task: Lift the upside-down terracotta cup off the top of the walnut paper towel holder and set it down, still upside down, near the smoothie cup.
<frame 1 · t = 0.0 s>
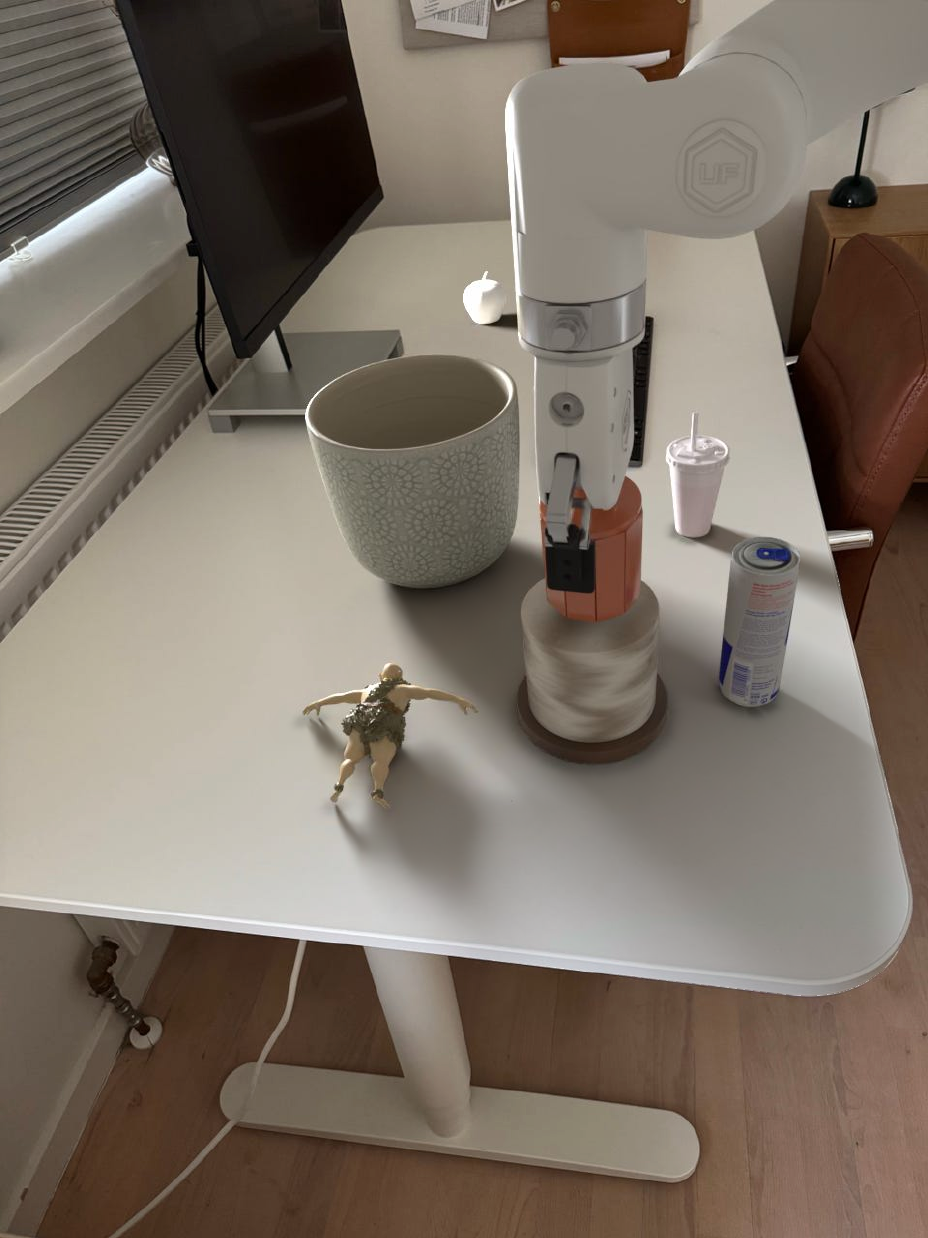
hand: (584, 547, 64), 20 cm above the table, tool pointing down, fingers open, 9 cm apart
cup: (592, 587, 70), point 14 cm above the table, tilted 8°, touching gripper
towel holder: (591, 708, 79), on the table
planter: (435, 557, 99), on the table
smoothie: (692, 529, 98), on the table
beverage can: (747, 693, 78), on the table
plain white apple: (487, 321, 150), on the table
figurine: (381, 749, 78), on the table
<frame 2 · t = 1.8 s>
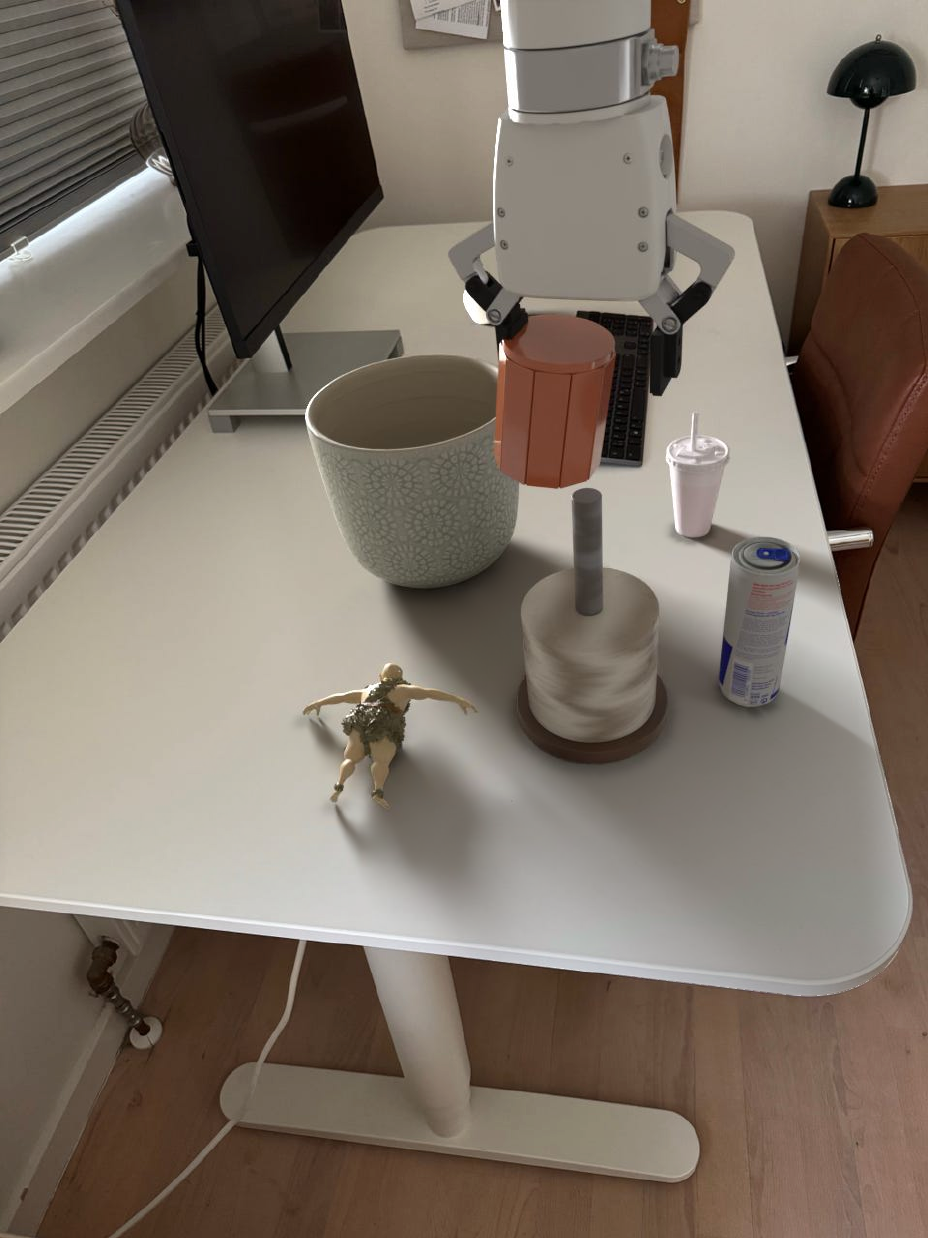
hand: (587, 380, 58), 31 cm above the table, tool pointing down, fingers open, 9 cm apart
cup: (546, 458, 63), point 25 cm above the table, tilted 8°, touching gripper
everything else where it was.
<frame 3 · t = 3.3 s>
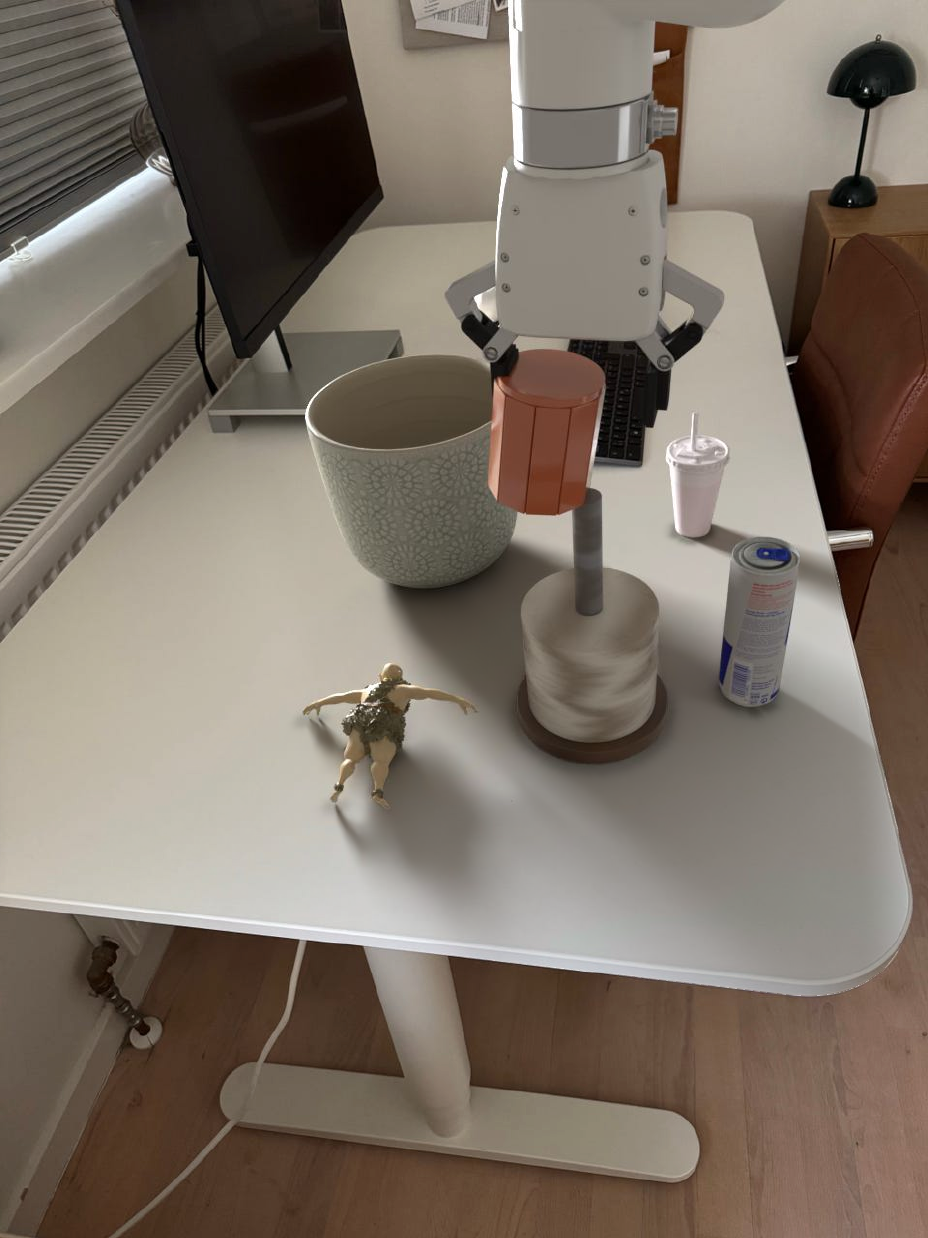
hand: (579, 413, 60), 29 cm above the table, tool pointing down, fingers open, 9 cm apart
cup: (538, 486, 65), point 23 cm above the table, tilted 9°, touching gripper, towel holder
everything else where it was.
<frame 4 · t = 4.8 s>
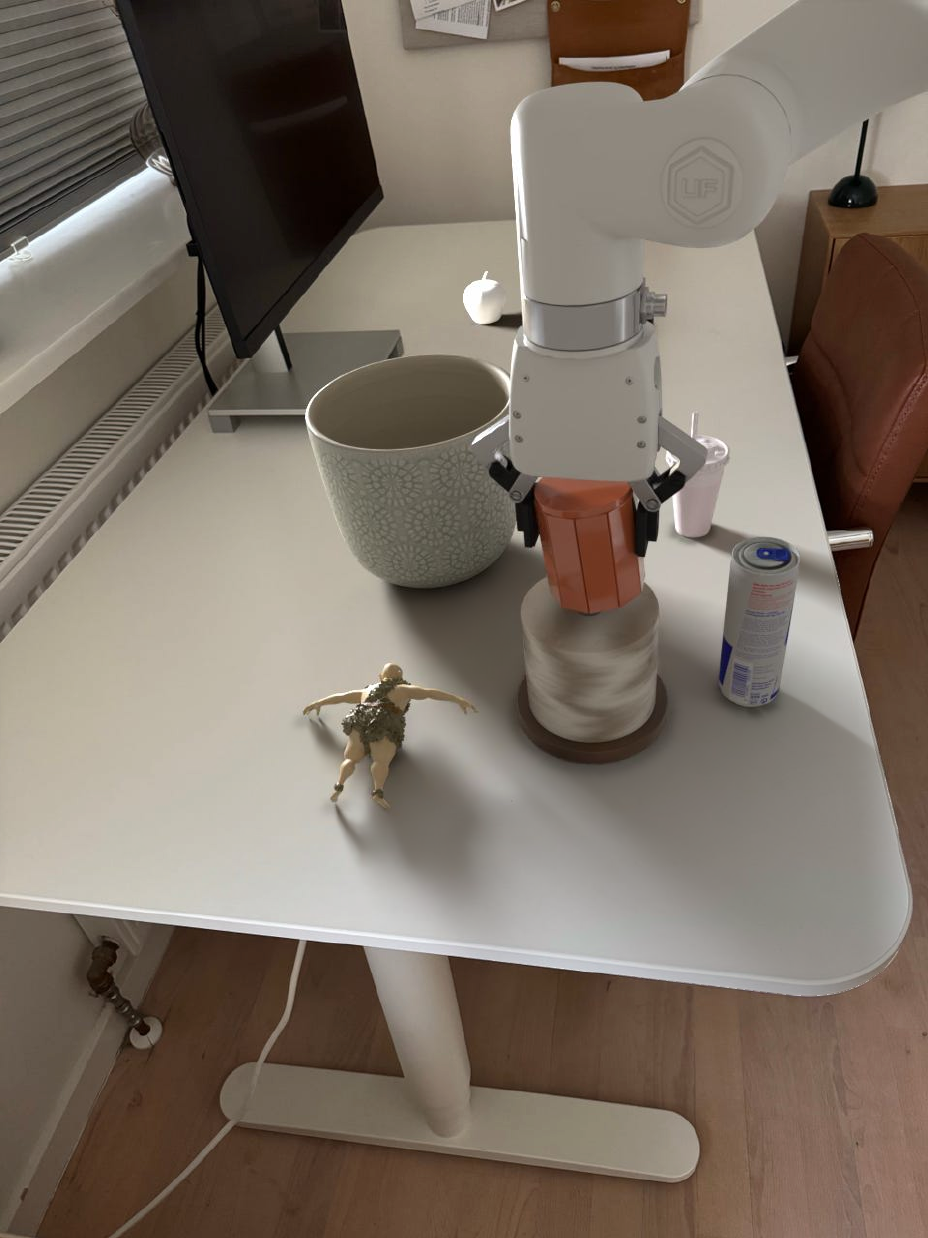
hand: (587, 540, 67), 18 cm above the table, tool pointing down, fingers closed on cup, 7 cm apart
cup: (597, 584, 70), point 14 cm above the table, tilted 6°, touching gripper, towel holder
everything else where it was.
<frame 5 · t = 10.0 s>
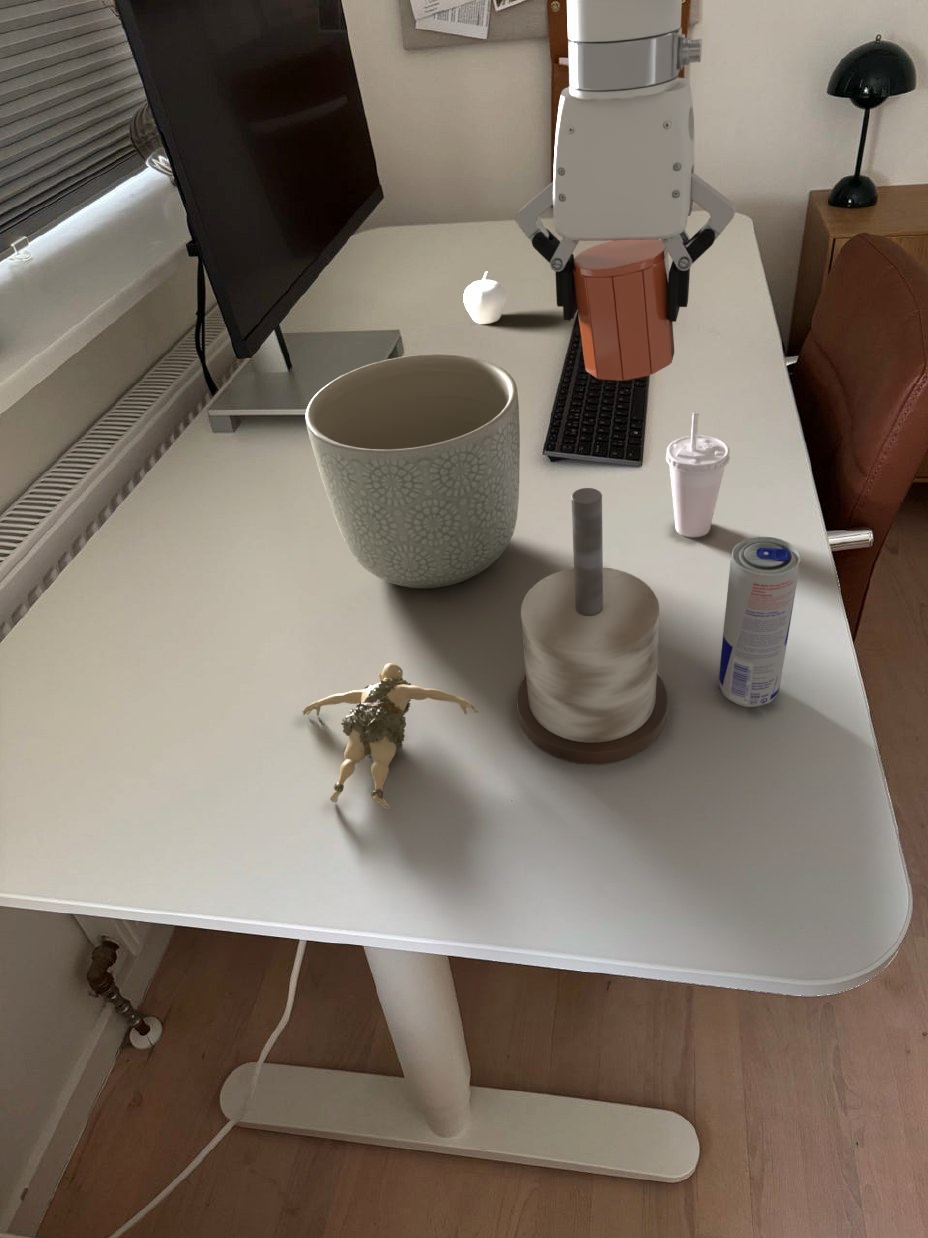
hand: (621, 313, 73), 29 cm above the table, tool pointing down, fingers closed on cup, 7 cm apart
cup: (629, 361, 75), point 24 cm above the table, tilted 6°, touching gripper
everything else where it was.
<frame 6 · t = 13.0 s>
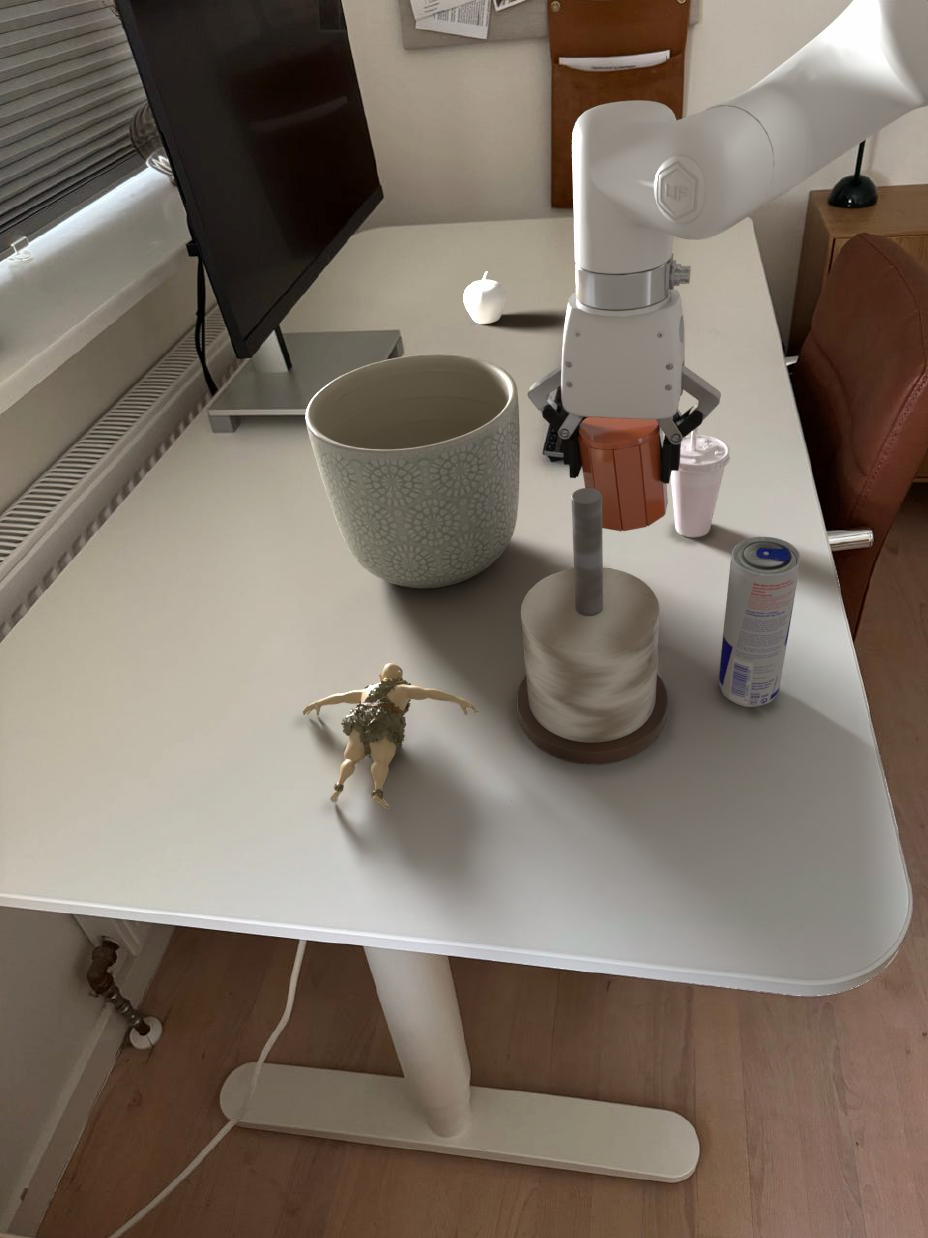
hand: (621, 472, 82), 14 cm above the table, tool pointing down, fingers closed on cup, 7 cm apart
cup: (628, 509, 85), point 10 cm above the table, tilted 6°, touching gripper
everything else where it was.
when the fingers open (5 cm above the table, at t = 15.6 s): cup stays where it is, on the table.
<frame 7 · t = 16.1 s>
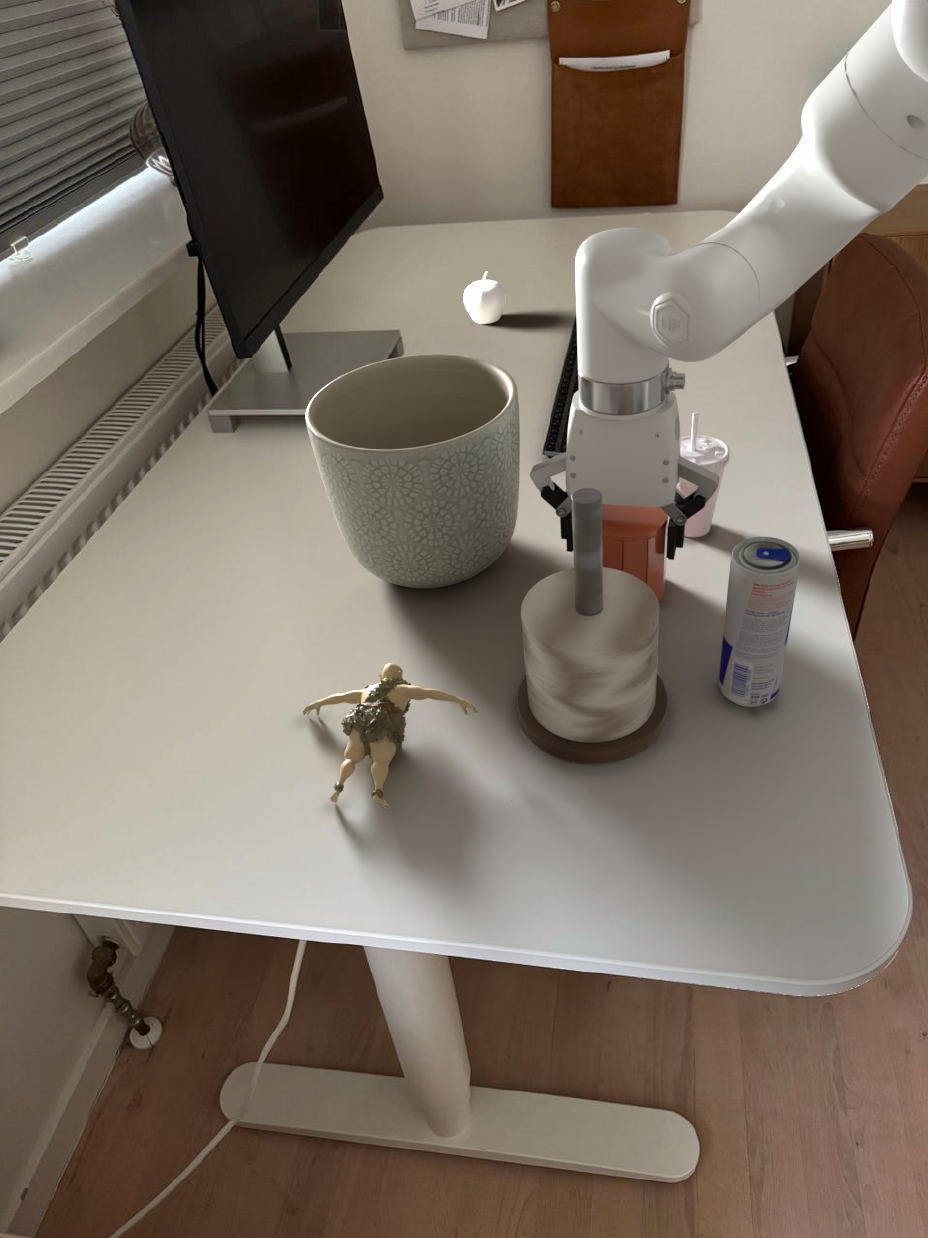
hand: (621, 547, 87), 5 cm above the table, tool pointing down, fingers open, 9 cm apart
cup: (627, 588, 91), on the table
everything else where it was.
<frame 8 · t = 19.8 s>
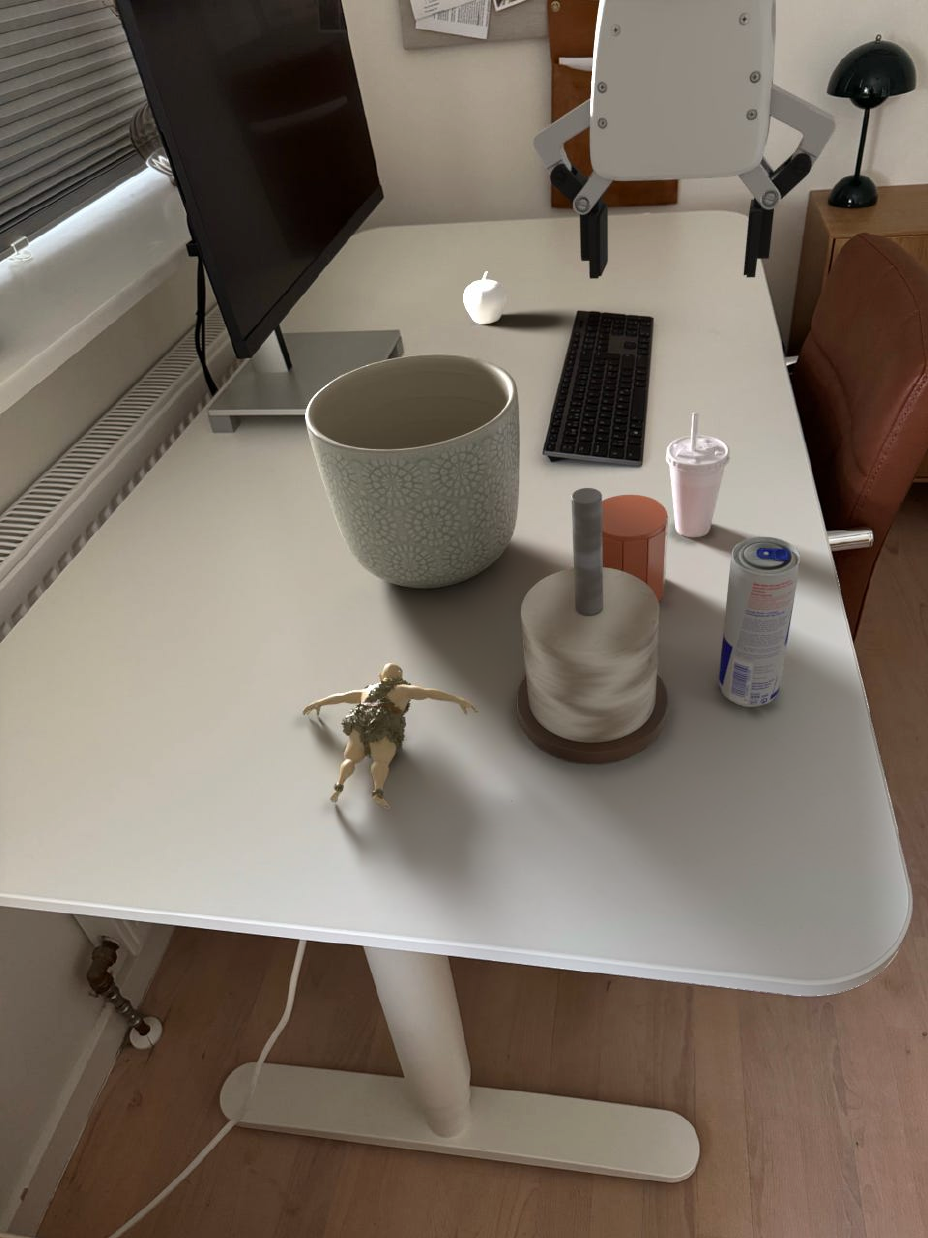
hand: (672, 270, 58), 36 cm above the table, tool pointing down, fingers open, 9 cm apart
nothing on the table moved.
at the end: cup inside the target area (0.7 cm from its centre), on the table; cup 12.9 cm from the smoothie (horizontally); cup tilted 0° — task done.
